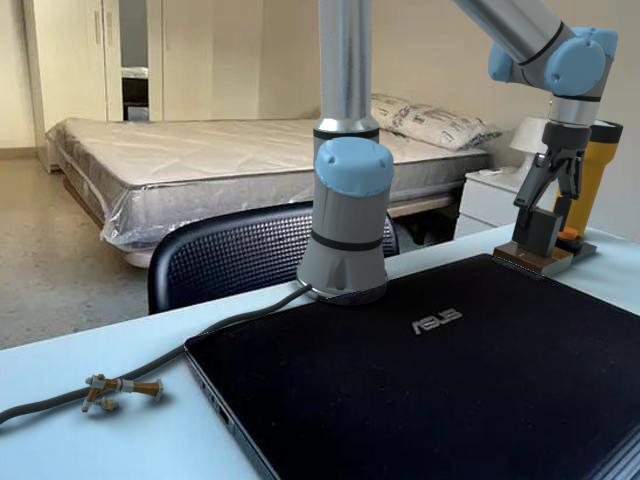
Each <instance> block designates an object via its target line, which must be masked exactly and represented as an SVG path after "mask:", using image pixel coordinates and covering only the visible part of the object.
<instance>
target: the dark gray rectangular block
mask: <svg viewBox="0 0 640 480" xmlns="http://www.w3.org/2000/svg"><path fill="white" fill-rule="evenodd" d="M533 210H534V211H536V212H535V216H534V220H533V223H532V227H531V231H530V234H529V238H528V242H527V245H525V246H524V245H522V244H519V243H518V244H517V246H519V247H521V248H524V249H526V250H529V251H531V252H533V253H536V254H538V255H541V256H543V257H548V256H550V255H552V252H553V249H554V246H555V242H556V239H557V235H558V232H559V229H560V225H561V222H562V218H563V216H562V215H559V214H556V213H553V212H552V211H550V210H547V209H544V208H541V207H540V206H538V205H536V206H535V208H534V209H533Z"/></svg>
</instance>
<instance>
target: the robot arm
mask: <svg viewBox="0 0 640 480" xmlns="http://www.w3.org/2000/svg"><path fill="white" fill-rule="evenodd" d="M450 1H451V2H452V3H453V4H454V5H455V6H456V7H457V8H459V9H460V11H462V13H464V14H465V15H466V16H467V18H469V19H470V20H471V21H472V22H473V23H474V24H475V25H476V26H477V27H478V28H479V29H481V30H482V31H483V32H484V33H485V34H486V35H487V36H488V37H489V38H490V39H491V40H492V41H493V43H492V46H491V48H490V51H489V55H488V61H487V71H488V75H489V78H490V79H491V80H493V81H495V82H502V83H505V84H509V83H510V84H520V85H524V86H526V87H527V86H528V87H531V88H535V89H539V90H543V91H546V92H549V93H551V94H552V99H551V100H550V101H549V106H550V108H549V110H548V114H547V119H548V120H550V121H547V122H545V125H544V128H543V131H542V136H541V143H542V144H543V145H546V146H547V148H546V151H545V153H543V152H538V151H537V152H536V153H535V155H534V156H533V157H534V158H533V160H532V164H531V166H530V168H529V170H528V172H527V174H526V176H525V178H524V180H523V182H522V184H521V186H520V188H519V190H518V192H517V194H516V196H515V198H514V200H513V202H512V205H513V206H514V207H515V208H518V211H517V216H516V220H515V223H514V228H513V232H512V236H511V240H512V241H514V242H517V243H519V244H522V245H524V246H525V245H527V242H528V238H529V234H530V231H531V227H532V223H533V220H534V216H535V212H536V211H534V210H533V209H534V208H535V206H538V204H539V202H540V200H541V198H542V197H543V196H544V194H545V192H547V189H548V188H549V186H550V185H551V184H552V183H553V182H555V181H557V183H558V187H559V189H560V195H561V196H562V197H560V196H559V197H557V200H556V203H555V207H554V210H553V213H556V214H559V215H562V216H563V218H562V222H561V225H560V229H559V232H563V231H564V227H565V224H566V221H567V217H568V214H569V211H570V207H571V204H572V201H573V200H576V201H577V200H578V199H579V197H580V195H579V194H580V193H581V184H582V168H583V159H584V155H585V150H584V149H586V148H587V146H588V142H589V139H590V136H591V132H592V130H591V128H589V127H590V126H591V125H593V124H595V120H597V116H598V113H599V109H600V106H601V101H602V97H603V95H604V91H605V88H606V85H607V81H608V78H609V75H610V72H611V69H612V65H613V63H614V61H615V56H616V52H617V47H618V41H619V34H618V32H617V31H616V30H614V29H611V28H602V27H591V26H589V27H588V26H574V27H572V28H570V27H569V26H568V24H566V23H565V22H564V21H563V20H562V19H560V18H559V16H558V15H556V14H555V12H554V11H552V9H551V8H550V7H549V6H548V5H547V4H546V3H545V2H544V1H543V0H450ZM317 8H318V9H317V12H318V15H317V16H318V44H319V45H318V48H319V49H318V50H319V82H320V83H319V84H320V85H319V86H320V116H319V118H318V119H317V120H316V121H315V122H314V123H313V124H312V139H313V141H312V142H313V158H312V163H313V164H312V167H313V173H314V177H313V179H314V187H313V188H314V189H313V203H312V214H311V225H310V237H309V241H308V243H307V245H306V248H305V250H304V253H303V257H302V259H300V261H299V263H298V265H297V267H296V275H295V282H296V285H297V288H298V289H297V290H295V291H293V292H292V293H290V294H288V295H287V296H285V297H284V298H282V299H281V300H279V301H278V302H276V303H273V304H271V305H269V306H267V307H264V308H260V309H257V310H253V311H248V312H243V313H242V312H241V313H239V314H234V315H232V316H228V317H225V318H223V319H221V320H219V321H217V322H215V323H213V324H211V325H210V326H208V327H207V328H205V329H204V330H202V331H201V332H199V333H197V334H196V335H195V336H198V335H201V334H204V333H207V332H208V333H209V332H212V331H216V330H217V331H220V330H221V329H223V328H225V327H227V326H230V325H233V324H236V323H239V322H243V321H247V320H253V319H256V318H260V317H264V316H268V315H270V314H272V313H275V312H277V311H280V310H281V309H283V308H284V307H286V306H287V305H288V304H290V303H291V302H293V301H295V300H296V299H298V298H300V297H301V296H303V295H306V296H307V297H309V298H311V299H313V300H316V301H318V302H320V300H324V299H326V298H330V297H334V296H338V295H342V294H347V293H353V292H357V291H365V290H368V289H371V288H375V287H377V286H380V285H382V284H384V283H386V282H387V281H388V282H389V276H388V271H387V269H386V262H385V255H384V249H383V241H384V234H385V230H386V229H385V228H386V221H387V215H388V209H389V208H388V207H389V201H390V194H391V187H392V182H393V180H394V176H395V169H394V163H395V162H394V161H395V159H394V155H393V153H392V152H391V150H390V149H389V148H388V147H386V146H385V145H384V144H382V143H380V127H381V126H380V122H379V121H378V120H377V119H375V117H374V116H373V115H372V57H373V56H372V55H373V54H372V46H373V45H372V44H373V43H372V42H373V41H372V39H373V0H317ZM575 186H576V188H575ZM572 199H573V200H572ZM511 240H510V241H511ZM217 331H216V332H217ZM185 343H186V342H184V343H182V344H180V345H178V346H177V347H175V348H174V349H172V350H170V351H168V352H167V353H165V354H163V355H161V356H159V357H157V358H155V359H154V360H152V361H150V362H148V363H146V364H144V365H142V366H140V367H138V368H135V369H134V370H132V371H129V372H127V373H124V374H121V375H119V376H117V377H114V378H112V379H113V380H117V378H118V379H120V381H122V379H124V380H128V381H135V380H137V379H139V378H142V377H143V376H145V375H147V374H149V373H151V372H153V371H155V370H156V369H158V368H160V367H162V366H164V365H166V364H167V363H169V362H171V361H172V360H174V359H176V358H177V357H179V356H181V355H183V354H184V353H186V352H187V351H185V348H184V344H185ZM91 388H92V387H90V385H88V386H86V387H83V388H79V389H75V390H72V391H69V392H66V393H63V394H59V395H56V396H53V397H50V398H47V399H43V400H40V401H34V402H30V403H23V404H20V405H17V406H12V407H9V408H7V409H4V410H2V411H1V412H0V426H1V425H2V424H3V423H5V422H8V421H9V420H11V419H14V418H18V417H20V416H24V415H30V414H34V413H40V412H44V411H47V410H50V409H54V408H57V407H60V406H62V405H65V404H69V403H72V402H74V401H77V400H81V399H84V398H86V397H87V396H88V394H89V392H90V390H91ZM99 390H101V389H100V388H99V389H98V391H99ZM110 390H111V389H107V390H106V391H105V392H107V391H110ZM98 391H97V392H98Z"/></svg>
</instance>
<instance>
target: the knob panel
mask: <svg viewBox="0 0 640 480" xmlns="http://www.w3.org/2000/svg"><path fill="white" fill-rule="evenodd" d="M517 244H518V243H517V242H514V241H512V240H510V241H509V242H505V243H503V244H500V245H497V246H494V247H493V250H492V255H493V256H496V257H500V258H502V259H505V260H507V261H510V262H512V263H514V264H517V265H519V266H522V267H524V268H526V269H529V270H531V271H534V272H536V273H538V274H540V275H544V276H545V277H547V278H546V279H548V278H550V277H553V276H555V275H557V274H559V273H561V272H564V271H566V270H567V269H570V267H571V265H572V264H571V261H572V258H573V255H574V254H572V253H570V252H567V251H565V250H562V249H559V248H557V247H554V249H553V252H552V255H550V256H548V257H543V256H541V255H538V254H536V253H533V252H531V251H529V250H526V249H524V248H521V247H519V246H517ZM570 264H571V265H570Z"/></svg>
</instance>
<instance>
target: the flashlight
mask: <svg viewBox="0 0 640 480" xmlns="http://www.w3.org/2000/svg"><path fill="white" fill-rule="evenodd" d="M589 128H591V130H592V132H591V136H590V139H589V142H588V146H587V148H586V149H584V150H585V155H584V159H583V168H582V184H581V193H580V194H579V195H580V197H579V199H578V200H577V201H576V200H573V199H572V200H573V201H572V204H571V207H570V211H569V214H568V217H567V221H566V224H565V227H569V228H573V229H575V230H577V231H578V235H579V236H581V237H582V238H584V235H585V231H586V228H587V226H588V222H589V218H590V216H591V213H592V209H593V206H594V203H595V200H596V197H597V194H598V191H599V188H600V185H601V182H602V178H603V175H604V171H605V169H606V167H607V165H609V164H610V163H611V162H612V161H613V160H614V158H615V156H616V152H617V149H618V146H619V143H620V140H621V137H622V134H623V130H624V125H623V124H620V123H617V122H612V121H608V120H601V119H596V120H595V124H593V125H591V126H590V127H589ZM575 188H576V186H575ZM559 196H560V197H562V196H561V195H560V189H559V186H558V187H557V191H556V195H555V198H554V202H553V206H552V209H551V212H553V210H554V207H555V203H556V200H557V197H559Z"/></svg>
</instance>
